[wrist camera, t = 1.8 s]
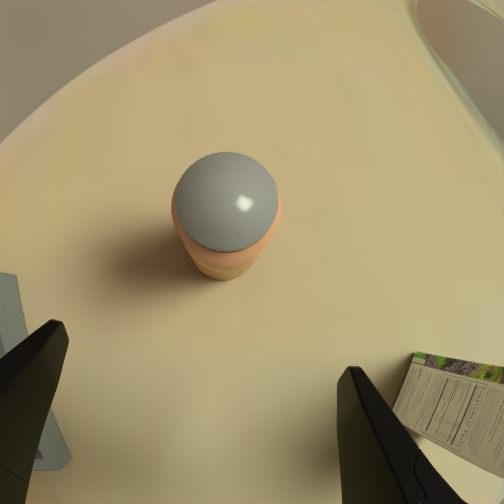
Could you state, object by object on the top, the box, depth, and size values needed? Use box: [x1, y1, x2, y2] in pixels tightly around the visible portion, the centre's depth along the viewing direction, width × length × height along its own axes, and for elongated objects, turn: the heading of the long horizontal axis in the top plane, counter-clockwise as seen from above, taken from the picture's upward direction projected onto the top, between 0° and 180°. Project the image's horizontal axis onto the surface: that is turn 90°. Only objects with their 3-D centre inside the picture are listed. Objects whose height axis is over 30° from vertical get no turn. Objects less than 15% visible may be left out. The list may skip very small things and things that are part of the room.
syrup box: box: [393, 352, 504, 479], centre depth 14 cm, size 6×6×14 cm
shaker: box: [171, 152, 281, 280], centre depth 17 cm, size 4×4×10 cm
